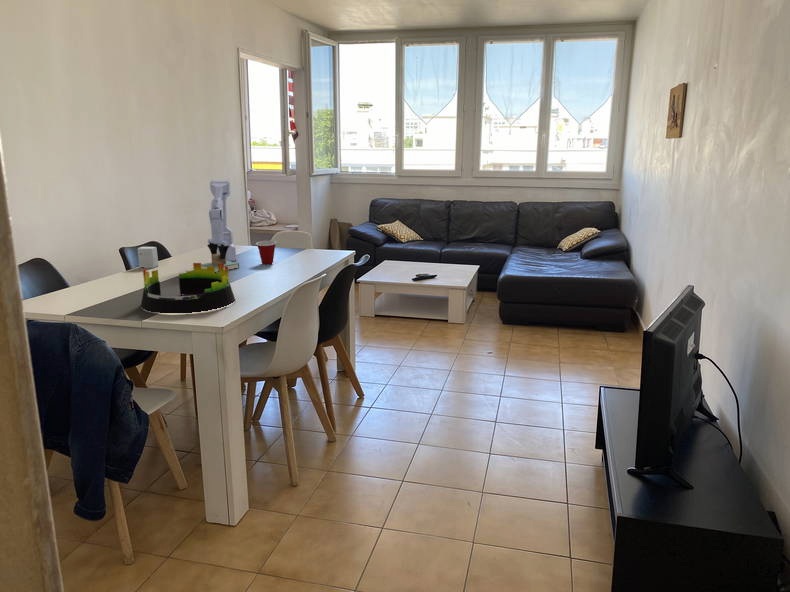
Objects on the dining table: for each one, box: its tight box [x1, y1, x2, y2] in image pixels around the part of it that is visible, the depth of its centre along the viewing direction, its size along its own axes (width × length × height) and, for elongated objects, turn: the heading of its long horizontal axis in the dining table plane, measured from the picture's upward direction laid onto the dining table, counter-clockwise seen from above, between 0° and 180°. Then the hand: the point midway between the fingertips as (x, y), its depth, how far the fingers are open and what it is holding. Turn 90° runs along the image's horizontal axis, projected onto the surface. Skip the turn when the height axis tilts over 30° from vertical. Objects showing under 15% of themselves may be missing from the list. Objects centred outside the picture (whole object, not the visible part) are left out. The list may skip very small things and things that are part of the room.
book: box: [201, 261, 240, 273], centre depth 320 cm, size 16×12×3 cm
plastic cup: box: [255, 240, 277, 265], centre depth 333 cm, size 11×11×12 cm
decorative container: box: [140, 262, 236, 313], centre depth 249 cm, size 37×37×15 cm
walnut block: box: [210, 253, 226, 265], centre depth 319 cm, size 5×5×5 cm
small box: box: [137, 246, 159, 269], centre depth 322 cm, size 8×6×10 cm
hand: (218, 258), depth 319 cm, fingers open, 7 cm apart
